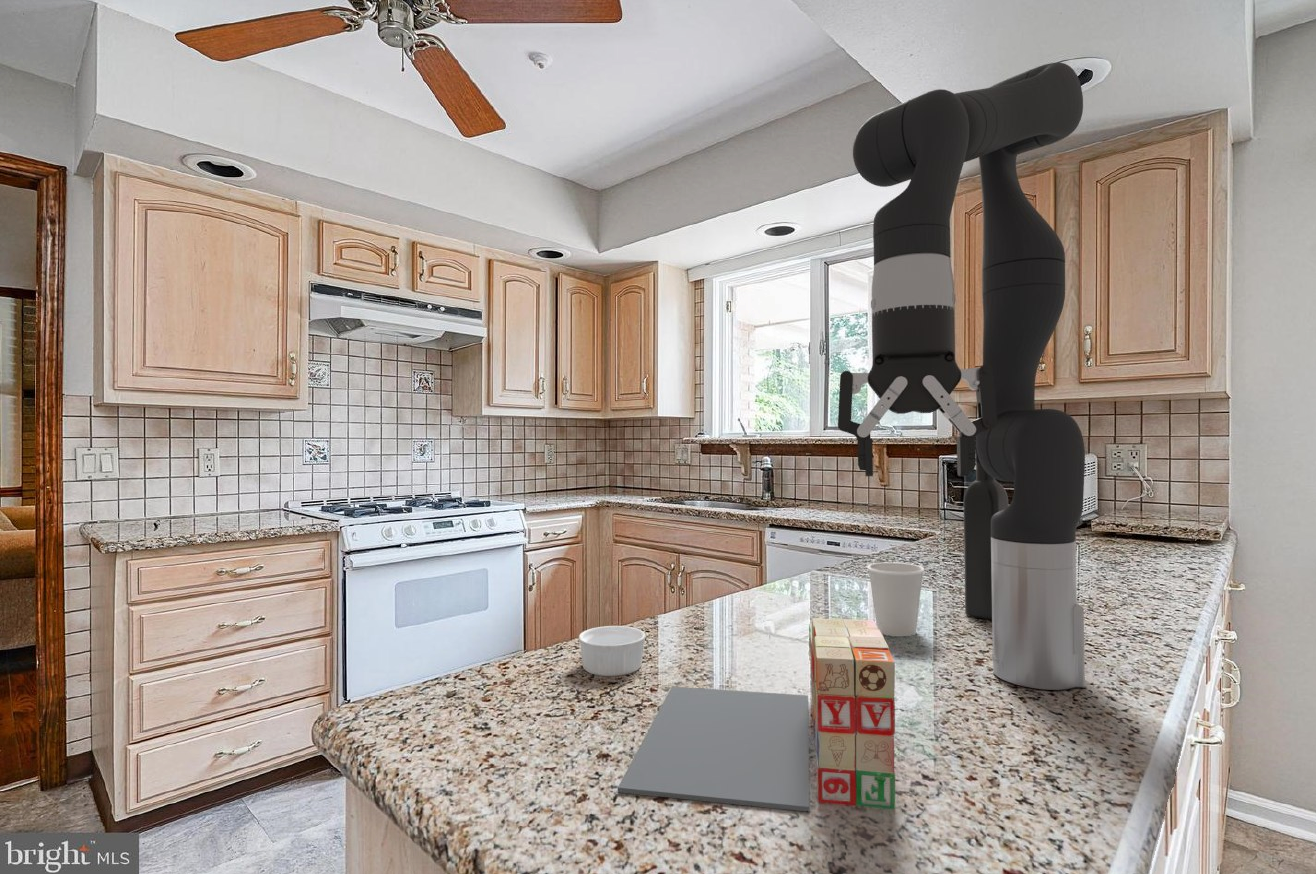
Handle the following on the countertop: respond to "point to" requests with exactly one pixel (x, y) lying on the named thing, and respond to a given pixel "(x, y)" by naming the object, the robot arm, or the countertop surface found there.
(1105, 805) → the countertop surface
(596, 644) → the ramekin
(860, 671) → the stack of blocks
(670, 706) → the mat
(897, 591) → the dixie cup
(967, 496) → the wine bottle
